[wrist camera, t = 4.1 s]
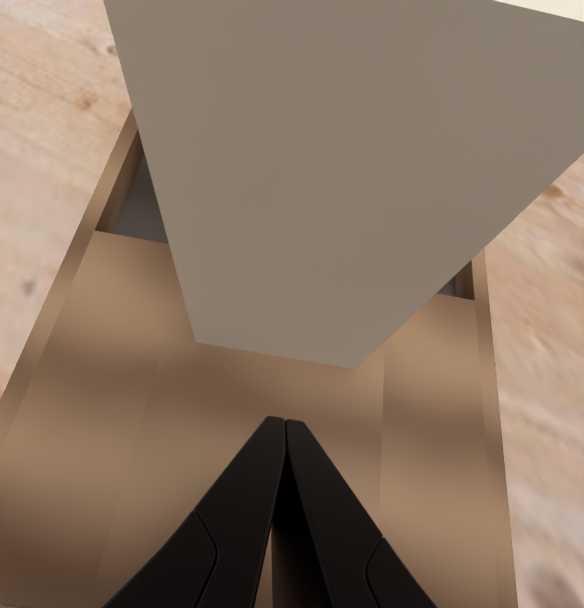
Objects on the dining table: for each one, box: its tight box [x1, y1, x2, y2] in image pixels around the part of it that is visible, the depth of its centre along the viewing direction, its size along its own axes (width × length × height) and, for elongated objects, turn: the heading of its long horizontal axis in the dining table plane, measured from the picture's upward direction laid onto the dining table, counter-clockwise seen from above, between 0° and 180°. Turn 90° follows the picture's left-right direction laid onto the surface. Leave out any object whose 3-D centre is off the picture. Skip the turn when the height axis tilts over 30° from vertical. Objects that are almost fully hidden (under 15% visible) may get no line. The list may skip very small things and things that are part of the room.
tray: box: [0, 108, 518, 608], centre depth 19 cm, size 27×20×4 cm
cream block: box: [104, 0, 584, 369], centre depth 12 cm, size 7×7×14 cm
